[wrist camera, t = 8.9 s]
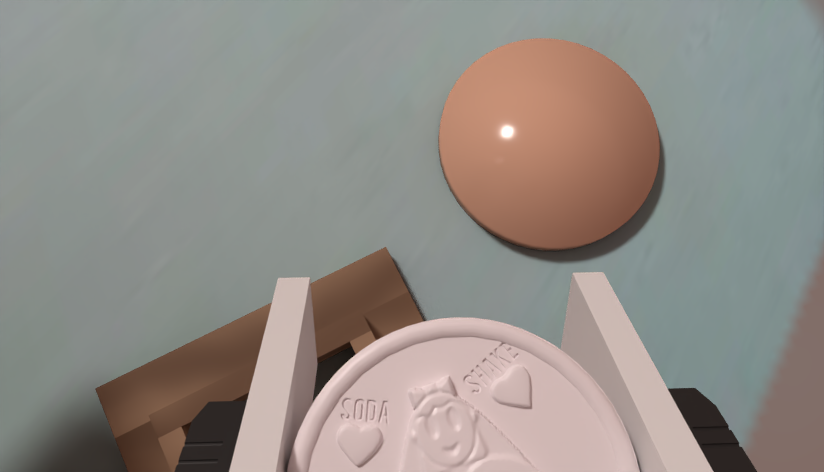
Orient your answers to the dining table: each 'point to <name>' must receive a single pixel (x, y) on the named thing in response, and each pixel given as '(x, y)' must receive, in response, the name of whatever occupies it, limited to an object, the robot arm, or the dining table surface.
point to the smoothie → (462, 407)
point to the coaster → (548, 144)
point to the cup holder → (245, 360)
